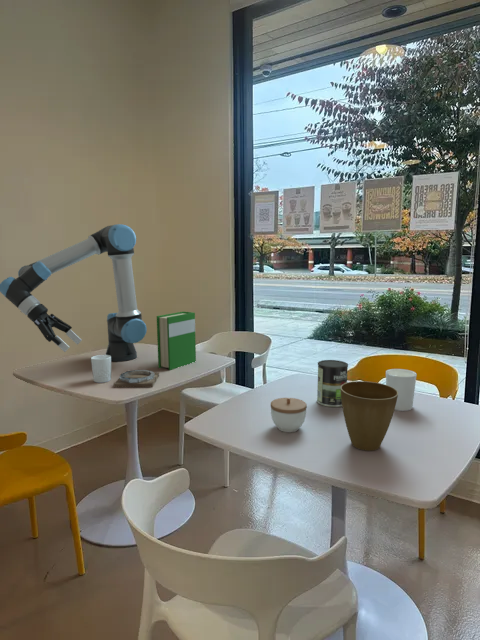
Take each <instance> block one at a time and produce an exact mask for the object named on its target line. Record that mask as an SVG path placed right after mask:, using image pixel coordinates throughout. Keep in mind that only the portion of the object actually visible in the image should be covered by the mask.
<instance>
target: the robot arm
mask: <svg viewBox="0 0 480 640" xmlns="http://www.w3.org/2000/svg"><path fill="white" fill-rule="evenodd" d="M134 231H135V230H133V229H132V227H130V226H128V225H125V224H123V223H117V224H112V225H107V226H104V227H103V228H101V229H99V230H98V231H96V232H94V233H92V234H90V235H88V238H87V239H84V240H82V241H80V242H77V243H75V244H73V245H71V246H68V247H66V248H63V249H62V250H61V249H60V250H59V251H57V252H55V253H52V254H50V255H48V256H46V257H43V258H40V259H39V260H37V261H35V262H33V263H30V264H27V265H24V266H21V267H20V268H19V269H18V271H17V272H18V273H17V276H18V277H17V278H15V277H13V276H8V277H6V278H5V279H3V280H2V281H1V282H0V293H1V294H2V295H3V296H4V297H5V299H7V300H8V301H9V302H11V304H12V305H14V307H16V308H18V310H20V312H21V313H22V314H23V315H25V316H27V318H28V319H29V320H30V321H31V322H32V323H33V324H34V325H35V326H36V327H37V329H38V330H39V331H40V332H41V334H42V335H43V337H44V338H45V340H46V341H48V342H49V343H50V342H53V343H54V344H55V345H56V346H57V347H58V348H60V350H62V351H63V352H64V353H66V352H67V351H68V350H69V348H70V346H69V345H68V344H67V343H66V342H65V341H64V340H63V339H62V338H61V337H60V336H59V335H56V334H55V332H54V331H55V330H54V329H53V328H55V329H57V330H59V331H62V332H63V333H65V335H66V336H67V337H68V338H69V339H70V340H72V342H74V344H76V345H79V344H80V343H81V342H82V341H83V339H82V338H80V337H79V335H77V334H76V333H75V332H74V331H73V330H72V328H73V327H72V326H71V325H70V324H69V323H67V322H65V321H63V320H62V319H60V318H58V317H57V316H56V315H54V314H53V313H50V314H48V311H49V309H48V308H47V307H46V306H45V305H44V304H43V303H41V301H40V300H39V299H38V298H36V296H34V295H33V294H32V292H33V291H34V290H35V289H37V288H38V287H39V286H41V284H43V283H45V281H47V280H48V278H50V277H51V275H52V274H53V275H54V274H55V273H57V272H59V271H61V270H64V269H65V268H68V267H71V266H73V265H74V264H76V263H79V262H81V261H83V260H85V259H88V258H89V257H92V256H94V255H98V256H99V255H101V254H104V253H107V257H108V258H109V259H111V263H112V270H113V280H114V285H115V287H114V288H115V294H116V302H117V309H118V311H117V312H109V313H108V314H107V315H106V316H107V317H106V322H107V335H108V336H107V339H108V342H107V343H108V345H107V348H106V351H105V355H110V356H111V362H127V361H131V360H134V359H136V358H138V355H137V353H138V352H137V350H136V347H135V345H134V344H136V343H139V342H141V341H142V340H143V339H144V338H145V337H146V334H147V330H148V329H147V324H146V323H145V321H144V320H143V316H142V312H141V311H140V310H139V309H138V301H137V297H136V286H135V278H134V271H133V270H134V269H133V261H132V257H133V256H135V248H134V247H135V245H136V244H137V236H136V233H135V232H134Z"/></svg>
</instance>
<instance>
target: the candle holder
mask: <svg viewBox="0 0 480 640" xmlns="http://www.w3.org/2000/svg"><path fill="white" fill-rule="evenodd" d="M417 377H418V376H417V373H416V371H413V370H409V369H404V368H391V369H387V370H385V385H388V386H391V387H393V388H395V389H396V390H397V391H398V397H397V402H396V406H395V410H394V411H399V412H407V411H411V410H412V409H413V406H414V399H415V391H416V381H417Z"/></svg>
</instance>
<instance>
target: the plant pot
mask: <svg viewBox="0 0 480 640" xmlns="http://www.w3.org/2000/svg"><path fill="white" fill-rule="evenodd" d="M340 389H341V400H342V406H341V407H342V412H343V413H342V414H343V416H344V421H345V426H346V429H347V433H348V437H349V440H350V442H351V445H352V446H353V447H354V448H356V449H358V450H361V451H365V452H366V451H367V452H369V451H370V452H373V451H376V450H379V449H380V446H381V445H382V443H383V441H384V439H385V437H386V436H387V435H386V434H387V432H388V430H389V427H390V425H391V422H392V419H393V416H394V413H395V411H396V410H395V406H396V402H397V397H398V391H397V390H396V389H395V388H393V387H391V386H388V385H386V383H380V382H374V381H365V380H364V381H363V380H361V381H360V380H359V381H358V380H357V381H347V383H344V384H342V385H341V387H340Z"/></svg>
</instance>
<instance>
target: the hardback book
mask: <svg viewBox="0 0 480 640" xmlns="http://www.w3.org/2000/svg"><path fill="white" fill-rule="evenodd" d="M156 336H157V337H156V338H157V365H158V369H162V368H167V369H168V371H172V370H175V369H178V367H179V368H182V367H184V365H185V366H187V364H188V365H190V363H191V364H193V363H192V362H194V363H196V362H197V350H196V348H197V347H196V344H197V343H196V341H197V340H196V313H195V312H194V311H193V312H192V311H177V312H172V313H166V314H161V315H157V316H156ZM195 361H196V362H195ZM181 366H182V367H181Z"/></svg>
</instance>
